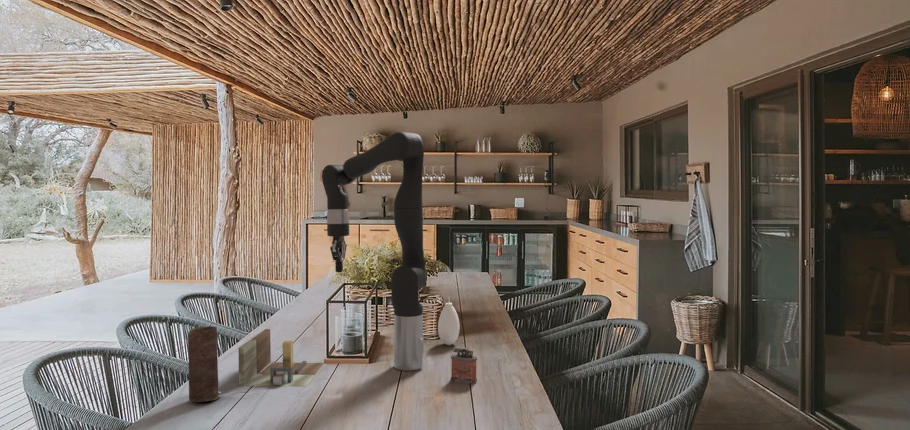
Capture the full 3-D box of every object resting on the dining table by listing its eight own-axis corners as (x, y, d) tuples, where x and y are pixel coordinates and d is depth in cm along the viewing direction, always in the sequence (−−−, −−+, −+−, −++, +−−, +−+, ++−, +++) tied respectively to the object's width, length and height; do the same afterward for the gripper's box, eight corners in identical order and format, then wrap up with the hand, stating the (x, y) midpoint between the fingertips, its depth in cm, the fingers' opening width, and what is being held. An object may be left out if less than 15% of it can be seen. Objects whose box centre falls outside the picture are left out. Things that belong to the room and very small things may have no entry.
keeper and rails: (307, 364, 185) (307, 351, 185) (290, 382, 168) (290, 368, 168) (288, 364, 185) (288, 351, 185) (270, 382, 169) (270, 368, 168)
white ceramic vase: (435, 346, 212) (435, 297, 211) (442, 340, 219) (442, 293, 218) (455, 348, 209) (455, 298, 208) (462, 342, 217) (462, 294, 216)
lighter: (478, 380, 174) (478, 347, 174) (475, 384, 171) (475, 350, 171) (452, 377, 177) (453, 345, 177) (449, 381, 174) (449, 348, 173)
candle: (207, 407, 152) (206, 331, 152) (182, 405, 154) (181, 330, 153) (224, 397, 160) (223, 325, 159) (200, 394, 161) (199, 323, 160)
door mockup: (324, 366, 187) (324, 329, 187) (305, 390, 165) (304, 348, 165) (266, 365, 188) (265, 329, 187) (239, 389, 166) (238, 348, 165)
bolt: (293, 372, 176) (293, 340, 176) (281, 384, 165) (281, 351, 165) (285, 372, 177) (285, 340, 176) (273, 384, 166) (272, 351, 165)
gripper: (343, 222, 195) (345, 274, 196) (353, 221, 209) (354, 269, 209) (321, 223, 196) (323, 274, 196) (332, 221, 209) (334, 269, 210)
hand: (339, 271), depth 203 cm, fingers closed
